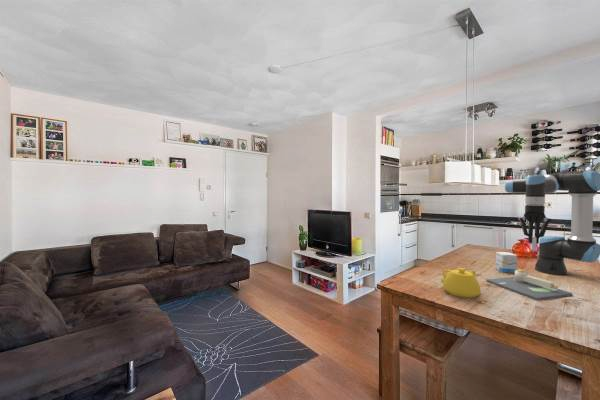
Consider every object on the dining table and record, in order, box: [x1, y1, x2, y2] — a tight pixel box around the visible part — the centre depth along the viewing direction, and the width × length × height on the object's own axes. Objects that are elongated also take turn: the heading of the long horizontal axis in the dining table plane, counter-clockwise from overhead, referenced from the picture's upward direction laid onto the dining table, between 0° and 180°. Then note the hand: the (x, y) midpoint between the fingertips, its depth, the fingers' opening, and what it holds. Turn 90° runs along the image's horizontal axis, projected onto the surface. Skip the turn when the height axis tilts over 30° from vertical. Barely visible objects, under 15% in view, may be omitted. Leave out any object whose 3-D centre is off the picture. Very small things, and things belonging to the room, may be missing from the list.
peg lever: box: [514, 268, 559, 289], centre depth 139 cm, size 19×5×6 cm, turn 18°
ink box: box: [494, 251, 518, 274], centre depth 169 cm, size 8×8×12 cm
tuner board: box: [485, 276, 573, 301], centre depth 140 cm, size 24×26×2 cm
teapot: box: [441, 267, 482, 299], centre depth 135 cm, size 20×19×13 cm
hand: (533, 249), depth 134 cm, fingers closed
